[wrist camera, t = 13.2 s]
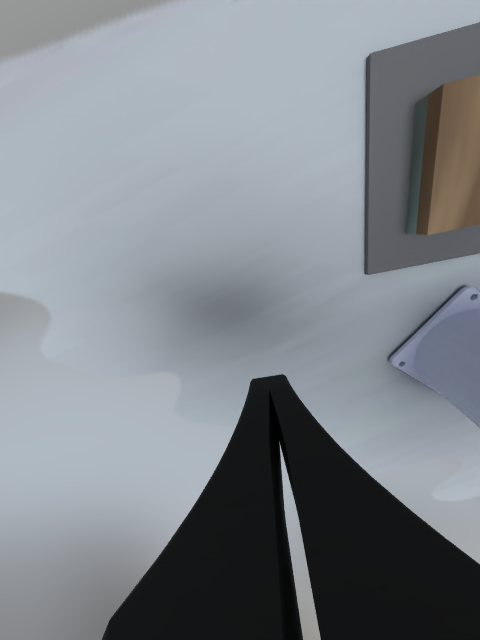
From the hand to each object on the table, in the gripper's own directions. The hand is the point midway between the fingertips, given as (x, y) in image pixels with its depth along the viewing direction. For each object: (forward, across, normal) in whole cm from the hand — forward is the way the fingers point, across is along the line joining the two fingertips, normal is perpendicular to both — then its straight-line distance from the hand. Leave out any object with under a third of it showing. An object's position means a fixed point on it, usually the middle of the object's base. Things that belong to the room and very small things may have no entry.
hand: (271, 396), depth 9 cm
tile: (+8, -11, -7) cm, 15 cm away
